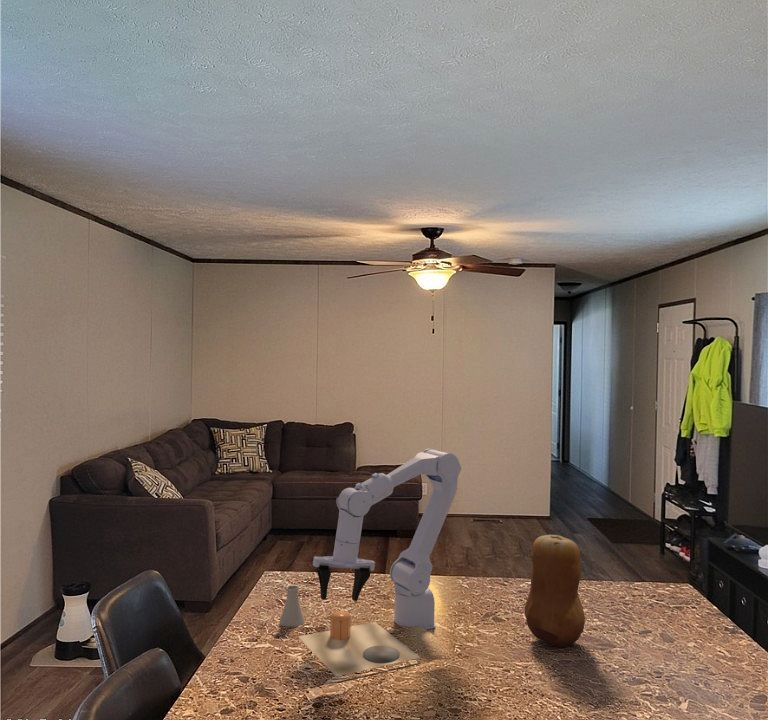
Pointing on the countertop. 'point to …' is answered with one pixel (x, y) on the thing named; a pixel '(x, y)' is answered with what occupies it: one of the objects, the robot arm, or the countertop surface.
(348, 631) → the orange domed tapered piece
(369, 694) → the countertop surface
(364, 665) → the board
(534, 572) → the butternut squash
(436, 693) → the countertop surface
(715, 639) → the countertop surface
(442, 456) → the robot arm
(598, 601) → the countertop surface
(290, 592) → the flask
